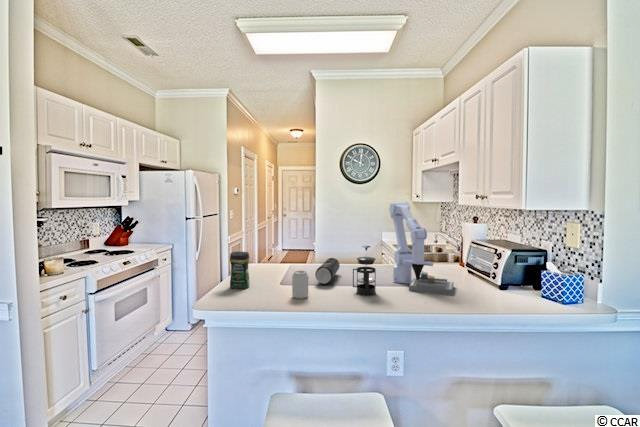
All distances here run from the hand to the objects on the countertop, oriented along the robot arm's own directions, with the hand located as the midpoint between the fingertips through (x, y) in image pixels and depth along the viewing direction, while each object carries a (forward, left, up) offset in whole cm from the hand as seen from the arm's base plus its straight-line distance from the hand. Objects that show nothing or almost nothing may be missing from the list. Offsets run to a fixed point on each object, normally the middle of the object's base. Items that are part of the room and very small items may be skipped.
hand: (417, 279), depth 177 cm
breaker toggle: (+6, 0, -2) cm, 7 cm away
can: (-49, -35, -5) cm, 60 cm away
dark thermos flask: (-49, 0, -5) cm, 49 cm away
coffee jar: (-85, -32, -5) cm, 91 cm away
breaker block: (+6, +3, -5) cm, 9 cm away
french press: (-23, -17, -5) cm, 29 cm away
